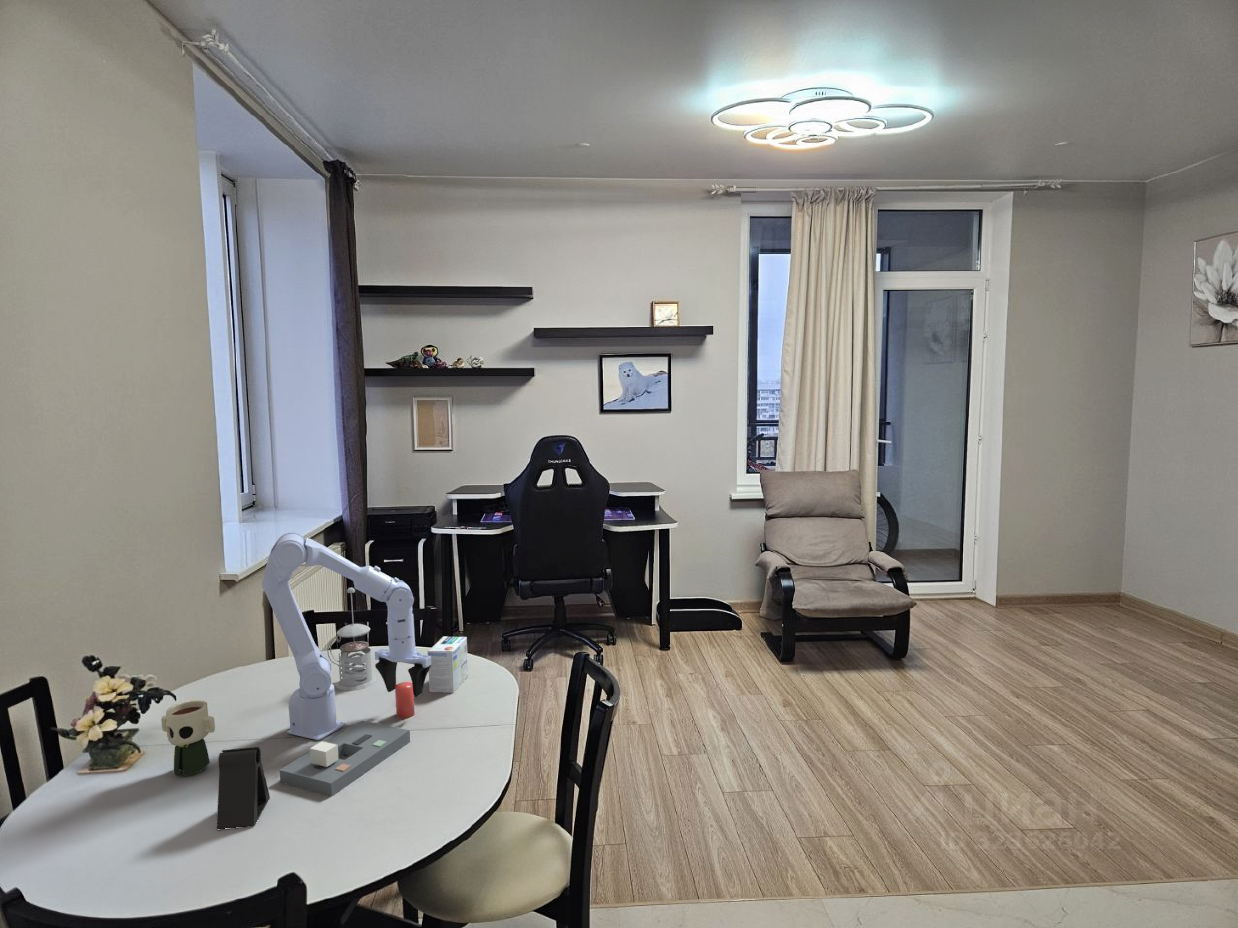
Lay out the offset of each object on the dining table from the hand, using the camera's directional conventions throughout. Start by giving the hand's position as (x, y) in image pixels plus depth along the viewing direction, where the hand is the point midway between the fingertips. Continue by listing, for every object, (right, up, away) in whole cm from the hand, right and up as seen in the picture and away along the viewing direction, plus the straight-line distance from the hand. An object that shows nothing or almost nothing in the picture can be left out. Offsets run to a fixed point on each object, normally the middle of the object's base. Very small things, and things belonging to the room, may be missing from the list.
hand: (404, 692), depth 165 cm
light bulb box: (+6, -4, +17) cm, 19 cm away
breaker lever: (-8, -5, -26) cm, 27 cm away
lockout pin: (0, -5, +1) cm, 5 cm away
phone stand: (-17, -10, -37) cm, 42 cm away
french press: (-19, -4, +19) cm, 28 cm away
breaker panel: (-5, -8, -20) cm, 22 cm away
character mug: (-36, -9, -22) cm, 43 cm away
